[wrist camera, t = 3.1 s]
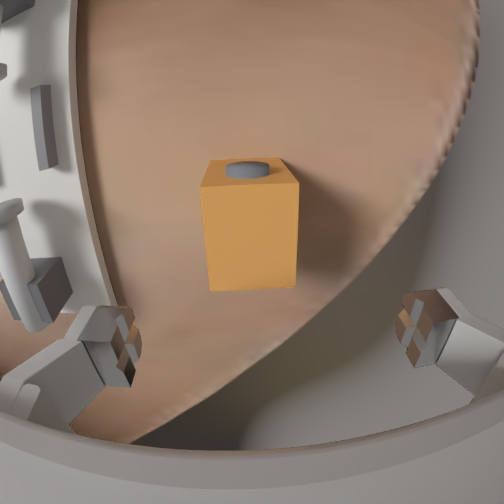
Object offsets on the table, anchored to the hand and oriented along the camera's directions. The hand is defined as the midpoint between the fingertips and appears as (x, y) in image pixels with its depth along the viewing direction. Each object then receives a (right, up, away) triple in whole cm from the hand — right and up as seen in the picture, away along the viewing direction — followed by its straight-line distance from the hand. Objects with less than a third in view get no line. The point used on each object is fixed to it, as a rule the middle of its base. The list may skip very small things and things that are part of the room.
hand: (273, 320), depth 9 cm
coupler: (-1, +5, +10) cm, 11 cm away
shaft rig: (-16, +10, +7) cm, 20 cm away
